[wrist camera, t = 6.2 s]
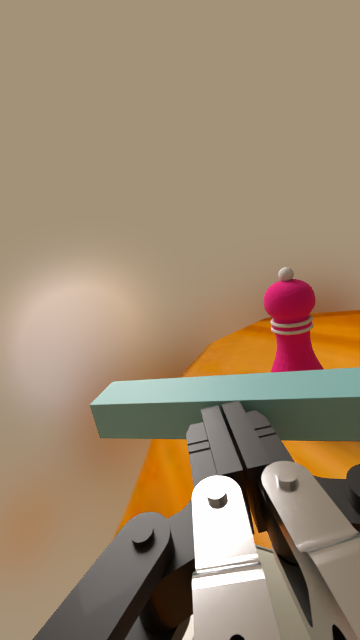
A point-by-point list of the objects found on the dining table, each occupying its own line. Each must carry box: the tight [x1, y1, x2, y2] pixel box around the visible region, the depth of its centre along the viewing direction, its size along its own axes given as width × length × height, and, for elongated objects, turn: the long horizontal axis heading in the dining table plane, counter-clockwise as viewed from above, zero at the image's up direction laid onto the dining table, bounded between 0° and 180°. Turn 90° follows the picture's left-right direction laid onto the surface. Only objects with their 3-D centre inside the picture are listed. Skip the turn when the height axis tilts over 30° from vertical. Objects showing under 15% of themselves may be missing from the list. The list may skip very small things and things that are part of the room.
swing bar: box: [90, 368, 360, 441], centre depth 12 cm, size 21×3×2 cm, turn 74°
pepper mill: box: [264, 267, 324, 373], centre depth 38 cm, size 7×7×20 cm
